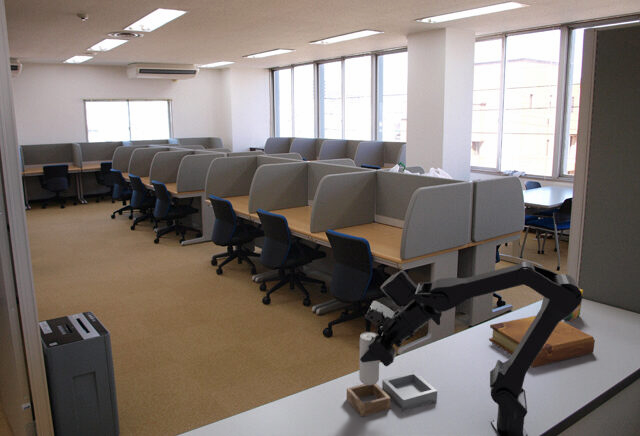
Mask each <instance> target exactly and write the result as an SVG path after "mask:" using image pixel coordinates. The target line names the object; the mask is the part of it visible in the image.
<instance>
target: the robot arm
mask: <svg viewBox="0 0 640 436" xmlns="http://www.w3.org/2000/svg"><path fill="white" fill-rule="evenodd" d="M519 286H527V287H528V288H530V289H531V290H532V291H534V292H536V293H538V294H539V295H540V296H542V297H543V298H542V302H541V305H540V306H541V307H540V309H539V310H538V312H537V314H536V315H535V316H536V317H535V319H534V320H533V322H532V324H531V325H530V327H529V328H528V330H527V332H526V333H525V335H524V336H523V338H522V340H521V341H520V343H519V345H518V346H517V348H516V349H515V351H514V353H513V354H511V356H510V357H509V359H507V360H506V361H504V362H503V361H501V360H500V359H498V360H497V361H496V363H495V367H494V368H493V369H492V370H490V371H489V387H490V397H491V399H492V401H493V402H494V403H496V404H497V415H496V416H497V418H496V419H490V423H491V425H492V427H493V428H494V430H495V432H496V433H497V434H498V436H530V435H529V433H528V432H527V430H526V428H525V426H524V425H525V417H526V416H527V414H528V406H527V396H526V390H525V389H524V388H523V385H524V382H525V378H526V374H527V373H528V371H529V370H530V368H531V367H530V366H531V365H532V363H533V362H534V360H535V359H536V357H537V355H538V354H539V352H540V351H541V349H542V348H543V346H544V345H545V343H546V341H547V340H548V338H549V337H550V335H551V334H552V332H553V331H554V329H555V327H556V326H557V324H558V323H559V322H560V321H562V322H563V321H564V320H565V318H567V317H568V316H570V315H571V313H572V312H573V311H574V310H575V309H576V308H577V307H578V306H579V305H580V304H581V305H582V302H583V294H581V291H580V289H581V288H580V286H579V285H578V283H577V281H576V280H575V278H574V277H572V276H571V275H568V274H565V273H561V274H559V273H557V272H554V271H552V270H550V269H547V268H544V267H541V266H537V265H535V264H533V263H531V262H529V261H520V262H519V263H517V264H513V265H510V266H506V267H502V268H499V269H495V270H491V271H487V272H484V273H481V274H476V275H473V276H469V277H464V278H463V277H462V278H461V277H447V278H439V279H436V280H434V281H432V282H418V283H417V284H416V283H415V282H414V281H413V280H412V278H410V276H409V275H408V273H407V272H406V271H405V270H404V269H401V270H400V271H398V272H396V273H394V274H391V276H390V277H388V279H386V281H384V282H383V284H382V285H381V286H380V290H382V292H383V293H384V294H385V295H386V296H387V297H388V298H389V299H390V301H392V302H393V304H394V305H396V307H399V308H397V309H396V310H395V311H394V310H392V309H391V308H389V307H388V306H387V305H385V304H382V303H381V302H379V301H377V300H373V301H372V302H371V304H370V306H369V308H368V310H367V312H366V314H365V315H364V318H365V319H366V320H367V321H369V322H371V323H373V324H375V325H376V326H377V333H376V334H378V335H376V336H375V337H373V336H372V338H371V340H370V343H369V345H368V347H369V349H368V350H367V351H366V352H365V353H364V355H363V356H362V357H361V358H360V357H359V359H360V360H361V361H362V362H370V361H378V360H379V362H380V363H382V365H383V366H384V367H389V366H390V365H391V364H393V363H394V361H395V358H396V355H397V354H396V349H395V348H394V345H395V346H396V347H397V348H400V347H401V346H402V344H403V342H404V341H405V340H406V339H407V338H412V337H414V336H415V334H416V332H417V331H418V330H419V329H420V328H422V327H423V326H425V325H426V324H428V322H430V321H431V320H432V321H433V322H434V323H435V324H436V325H437V326H440V325H441V323H442V314H443V312H447V311H450V310H452V309H455V308H457V307H459V306H460V305H461V304H463V303H464V302H467V300H470V299H472V298H475V297H480V296H484V295H488V294H492V293H496V292H500V291H504V290H508V289H511V288H516V287H519ZM581 301H582V302H581ZM401 307H404V308H403V309H401Z"/></svg>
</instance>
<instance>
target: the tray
mask: <svg viewBox="0 0 640 436" xmlns="http://www.w3.org/2000/svg"><path fill="white" fill-rule="evenodd" d="M381 380H382V381H381V382H382V383H381V385H382V387H381V389H382V390H383V391H384V392H385V393H386V394H387V395H388V396H389V397H390V398H391V401H393V402H394V403H395V405H397V407H399V408H400V409H401V411H403V412H404V411H409V410H411V409H414V408H415V409H416V408H418V407H421V406H425V405H428V404H429V405H430V404H432V403H436V402H437V401H438V390H437V389H436V388H435V387H433V386H432V384H430V383H429V382H428V381H426V380H425V379H424V378H423V377H422V376H421V375H420V374H418V372H416V371H412V372H406V373H404V374H399V375H395V376H392V377H388V378H384V379H381Z"/></svg>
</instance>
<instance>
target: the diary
mask: <svg viewBox="0 0 640 436" xmlns="http://www.w3.org/2000/svg"><path fill="white" fill-rule="evenodd" d="M535 317H536V315H533V316H527V317H523V318H517V319H513V320H509V321H502V322H498V323H494V324H493V323H492V324H490V325H489V328H490V329H492V337H490V338H488V340H489V341H490V342H492V343H493V344H495V345H496V346H498V347H499V346H500V347H499V348H501V349H503V350H504V351H506V352H507V353H509V354H510V353H511V355H512V354H513V353H514V351H515V349H516V348H517V346H518V345H519V343H520V341H521V340H522V338H523V336H524V335H525V333H526V332H527V330H528V328H529V327H530V325H531V324H532V322H533V320H534V319H535ZM595 343H596V340H595V338H594V336H592V335H591V334H588V333H586V332H584V331H582V330H580V329H578V328H576V327H574V326H572V325H570V324H568V323H566V322H564V321H563V320H562V321H560V322H559V323H558V324H557V326H556V327H555V329H554V331H553V332H552V334H551V335H550V337H549V338H548V340H547V341H546V343H545V345H544V346H543V348H542V349H541V351H540V352H539V354H538V355H537V357H536V359H535V360H534V362H533V363H532V365H531V367H530V368H532V367H533V368H536V366H537V367H540V366H545V365H549V364H552V363H557V362H562V361H564V360H565V361H566V360H569V359H573V358H577V357H581V356H584V355H588V354H592V353H594V349H595Z"/></svg>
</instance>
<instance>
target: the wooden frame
mask: <svg viewBox="0 0 640 436" xmlns="http://www.w3.org/2000/svg"><path fill="white" fill-rule="evenodd" d="M371 395H374V397H375V398H376V399H372V400H368V401H365V402H363V401H362V400H361V399H360V398H363V397H367V396H371ZM346 400H347V401H348V402H349V404H350V405H351V406H352V407H353V409H355V411H356V412H357V413H358V414H359V416H360V417H366V416H369V415H372V414H377V413H380V412H383V411H387V410H390V409H391V401H392V399H391V398H390V397H389V396H388V395H387V394H386V393H385V392H384V391H383V390H382V387H380V385H379V384H378V383H376V384H374V385H365V384H363V383H362V384H360V385H359V384H358V385H355V386H352V387H348V388H346Z"/></svg>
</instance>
